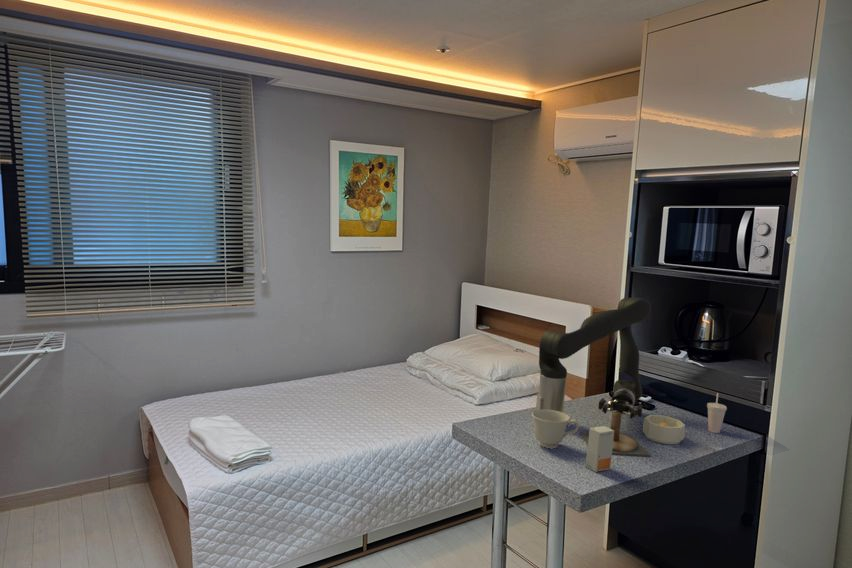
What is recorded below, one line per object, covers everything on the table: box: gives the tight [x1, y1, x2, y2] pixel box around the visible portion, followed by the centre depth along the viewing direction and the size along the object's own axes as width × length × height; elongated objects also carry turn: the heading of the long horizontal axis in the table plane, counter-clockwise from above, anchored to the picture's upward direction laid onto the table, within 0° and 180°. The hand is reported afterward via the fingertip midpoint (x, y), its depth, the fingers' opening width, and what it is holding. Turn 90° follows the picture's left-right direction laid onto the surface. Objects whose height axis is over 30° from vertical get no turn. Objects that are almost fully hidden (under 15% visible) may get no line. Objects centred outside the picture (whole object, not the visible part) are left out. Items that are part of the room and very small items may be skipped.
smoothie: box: [706, 392, 728, 434], centre depth 201 cm, size 6×6×14 cm
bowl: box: [642, 414, 686, 446], centre depth 191 cm, size 12×12×6 cm
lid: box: [609, 411, 637, 452], centre depth 182 cm, size 14×14×10 cm
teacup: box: [531, 409, 580, 449], centre depth 178 cm, size 12×15×10 cm
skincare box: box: [585, 425, 614, 473], centre depth 163 cm, size 6×4×12 cm
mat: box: [579, 432, 652, 457], centre depth 183 cm, size 18×16×1 cm
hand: (618, 413), depth 187 cm, fingers open, 8 cm apart
